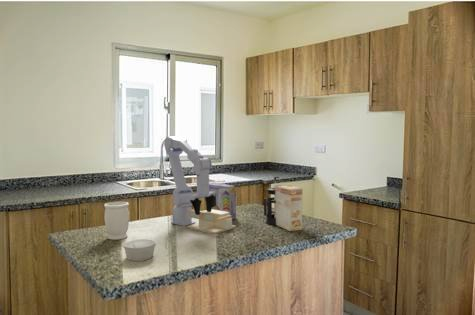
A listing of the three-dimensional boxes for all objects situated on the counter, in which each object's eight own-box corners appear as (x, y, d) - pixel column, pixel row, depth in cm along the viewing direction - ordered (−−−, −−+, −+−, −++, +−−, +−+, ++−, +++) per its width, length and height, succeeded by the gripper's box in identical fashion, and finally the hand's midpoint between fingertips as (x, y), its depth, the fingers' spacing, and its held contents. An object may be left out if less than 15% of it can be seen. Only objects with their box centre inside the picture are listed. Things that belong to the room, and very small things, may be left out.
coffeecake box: (302, 229, 181) (303, 188, 180) (289, 231, 179) (289, 189, 177) (286, 222, 195) (286, 183, 194) (273, 224, 192) (273, 184, 191)
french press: (289, 222, 195) (289, 176, 193) (278, 226, 188) (278, 178, 186) (270, 219, 202) (270, 175, 201) (259, 222, 195) (259, 176, 194)
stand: (208, 221, 198) (208, 208, 197) (236, 227, 187) (236, 212, 186) (186, 227, 186) (186, 213, 186) (214, 234, 175) (214, 218, 174)
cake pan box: (206, 214, 214) (206, 182, 213) (213, 213, 217) (213, 181, 216) (229, 220, 200) (229, 186, 198) (236, 219, 203) (236, 185, 202)
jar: (104, 235, 174) (103, 202, 173) (128, 233, 177) (127, 200, 176) (105, 242, 164) (104, 206, 163) (131, 239, 168) (130, 204, 166)
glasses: (207, 212, 195) (207, 206, 195) (231, 217, 185) (231, 210, 185) (189, 217, 186) (189, 210, 186) (214, 222, 176) (214, 214, 176)
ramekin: (117, 258, 143) (117, 244, 143) (140, 250, 152) (140, 237, 152) (138, 264, 137) (138, 249, 137) (161, 255, 146) (161, 242, 146)
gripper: (198, 186, 172) (198, 217, 173) (219, 183, 184) (220, 211, 185) (186, 185, 177) (187, 215, 178) (208, 181, 188) (209, 209, 189)
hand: (203, 213), depth 182 cm, fingers open, 7 cm apart
